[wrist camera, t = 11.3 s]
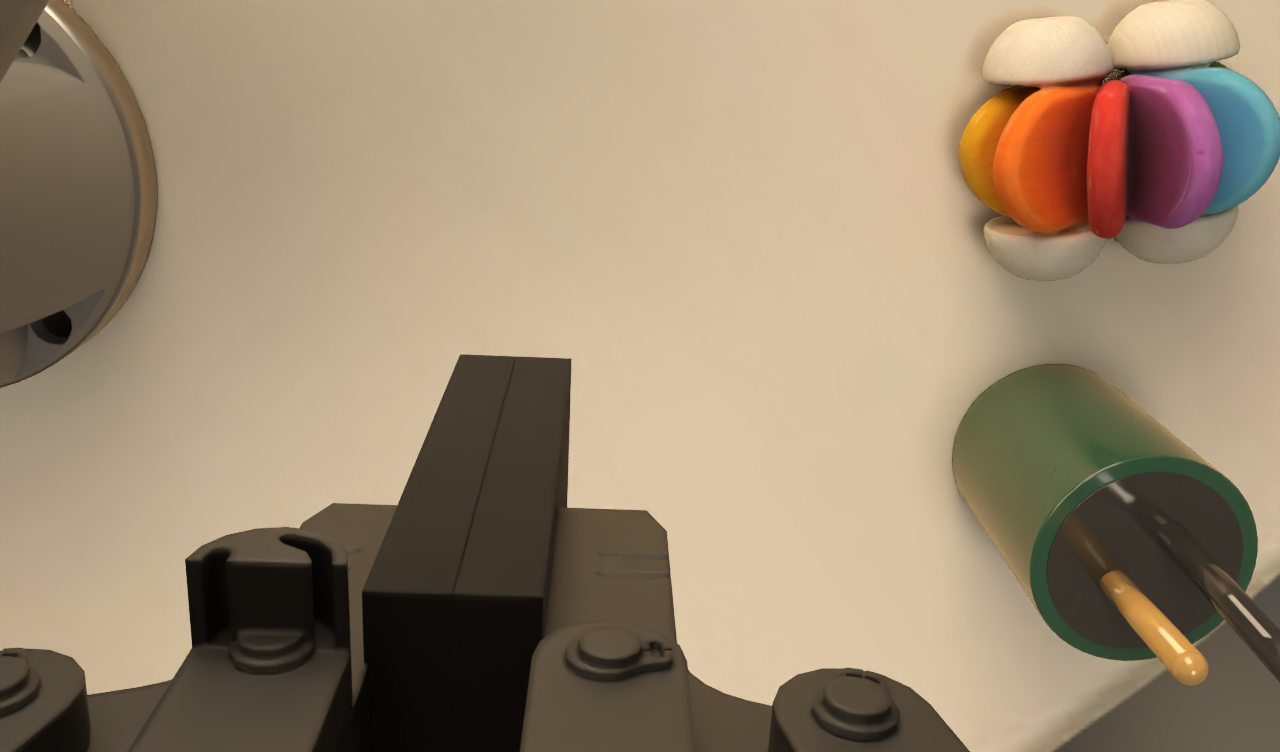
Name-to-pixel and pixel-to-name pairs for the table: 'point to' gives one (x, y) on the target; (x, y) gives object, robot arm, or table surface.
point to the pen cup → (1110, 520)
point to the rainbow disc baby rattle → (1116, 139)
